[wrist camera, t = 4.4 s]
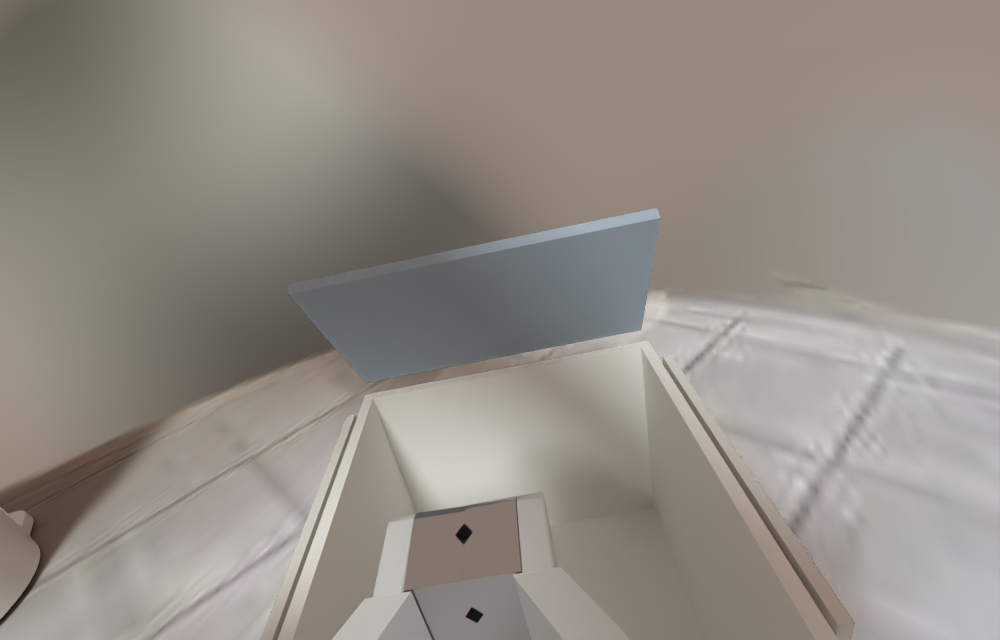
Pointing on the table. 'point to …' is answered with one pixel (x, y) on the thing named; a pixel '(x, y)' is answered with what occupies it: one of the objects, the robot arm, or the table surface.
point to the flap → (487, 298)
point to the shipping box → (569, 499)
